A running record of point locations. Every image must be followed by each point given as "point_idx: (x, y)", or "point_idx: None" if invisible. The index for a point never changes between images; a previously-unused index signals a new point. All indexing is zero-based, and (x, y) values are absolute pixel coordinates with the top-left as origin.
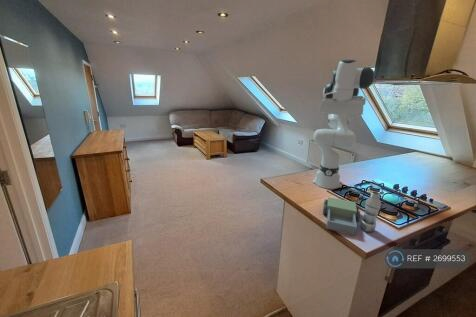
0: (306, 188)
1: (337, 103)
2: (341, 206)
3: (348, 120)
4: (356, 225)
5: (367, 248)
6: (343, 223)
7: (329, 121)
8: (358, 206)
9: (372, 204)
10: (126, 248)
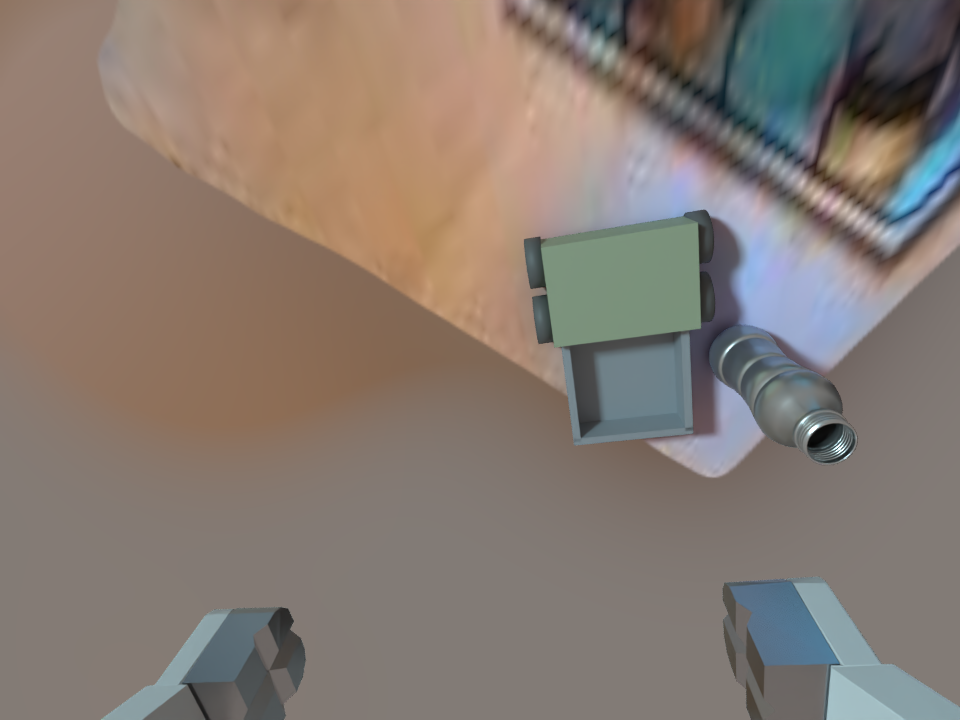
0: (374, 62)
1: None
2: (622, 318)
3: (811, 670)
4: (692, 421)
5: (722, 465)
6: (635, 371)
7: (284, 702)
8: (712, 243)
9: (788, 446)
10: None
